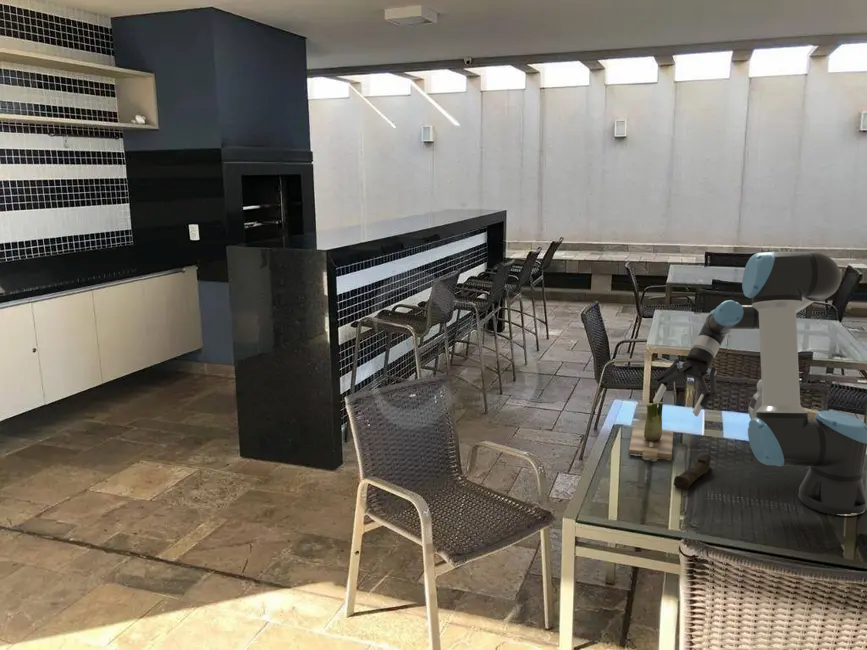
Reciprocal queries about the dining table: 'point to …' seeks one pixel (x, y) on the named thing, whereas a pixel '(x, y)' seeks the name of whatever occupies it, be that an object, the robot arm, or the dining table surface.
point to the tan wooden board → (651, 445)
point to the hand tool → (693, 473)
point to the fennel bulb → (653, 422)
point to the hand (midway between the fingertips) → (674, 408)
